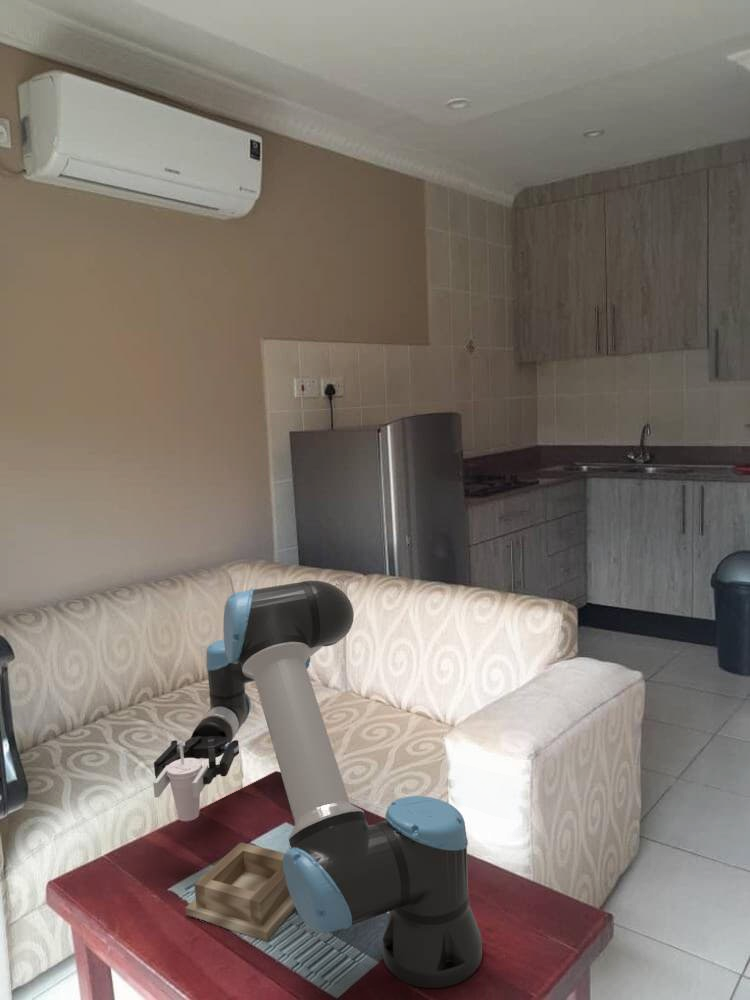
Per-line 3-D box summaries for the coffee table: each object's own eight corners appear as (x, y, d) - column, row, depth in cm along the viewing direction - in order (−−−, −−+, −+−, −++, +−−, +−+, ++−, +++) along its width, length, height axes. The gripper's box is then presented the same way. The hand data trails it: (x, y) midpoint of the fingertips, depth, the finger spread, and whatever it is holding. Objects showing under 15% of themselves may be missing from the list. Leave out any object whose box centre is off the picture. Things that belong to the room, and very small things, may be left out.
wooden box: (314, 885, 136) (312, 856, 135) (266, 940, 123) (264, 908, 122) (239, 865, 143) (236, 837, 142) (186, 916, 130) (183, 885, 129)
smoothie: (197, 802, 146) (190, 731, 144) (212, 815, 141) (206, 742, 139) (164, 815, 142) (157, 742, 140) (179, 829, 137) (172, 754, 135)
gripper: (262, 750, 158) (230, 810, 135) (171, 750, 160) (124, 810, 137) (260, 714, 157) (227, 769, 134) (167, 715, 159) (120, 769, 136)
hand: (175, 790), depth 136 cm, fingers closed on smoothie, 6 cm apart
